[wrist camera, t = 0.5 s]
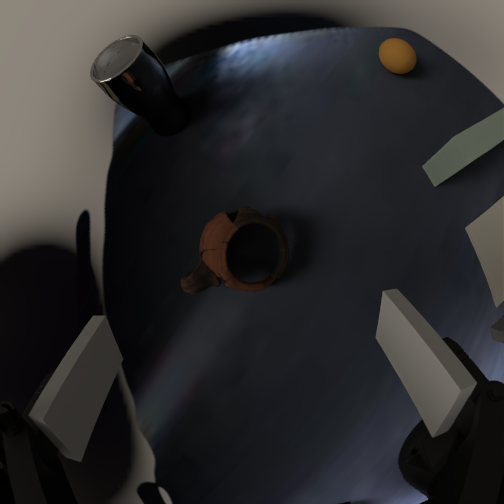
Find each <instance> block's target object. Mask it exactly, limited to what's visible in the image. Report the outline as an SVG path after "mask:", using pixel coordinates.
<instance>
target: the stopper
mask: <svg viewBox="0 0 504 504" xmlns="http://www.w3.org/2000/svg"><path fill="white" fill-rule="evenodd" d="M491 332H492V335H493V339H494V340H496V341H499V342H502V343H504V315H503V316H502V317H501V318H500V319H499V320H498V321H497V322H496V323H495V324H494V325H493V326H492V327H491Z"/></svg>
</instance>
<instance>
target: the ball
mask: <svg viewBox="0 0 504 504" xmlns="http://www.w3.org/2000/svg"><path fill="white" fill-rule="evenodd" d="M379 58H380V60H381V62H382V64H383V65H384V66H385V67H386V68H387V69H388V70H390V71H391V72H394V73H397V74H405V73H408V72H410V71H411V70H412V69H413V68H414V67H415V64H416V54H415V52H414V50H413V48H412V47H411V46H410V45H409V44H408V43H407V42H405V41H403V40H401V39H397V38H392V39H388V40H386V41H384V42H383V43H382V44H381V46H380V48H379Z"/></svg>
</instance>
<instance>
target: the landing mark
mask: <svg viewBox="0 0 504 504" xmlns="http://www.w3.org/2000/svg"><path fill="white" fill-rule="evenodd" d="M465 229H466V231H467V233H468V236H469V238H470V240H471V242H472V244H473V247H474V249H475V251H476V254H477V256H478V259H479V261H480V263H481V266H482V269H483V271H484V274H485V276H486V279H487V282H488V285H489V288H490V291H491V294H492V297H493V300H494V303H495V306H496V308H497V307H498V306H499V305H500V304H501V303H502V302H503V301H504V196H503V197H502V198H501V199H500V200H499V201H497V202H496V203H495V204H494V205H493V206H491V207H490V208H489V209H488V210H487V211H485V212H484V213H483V214H482V215H481V216H479V217H478V218H477V219H476V220H474V221H473V222H472V223H471V224H469V225H468V226H467V227H466V228H465Z"/></svg>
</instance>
